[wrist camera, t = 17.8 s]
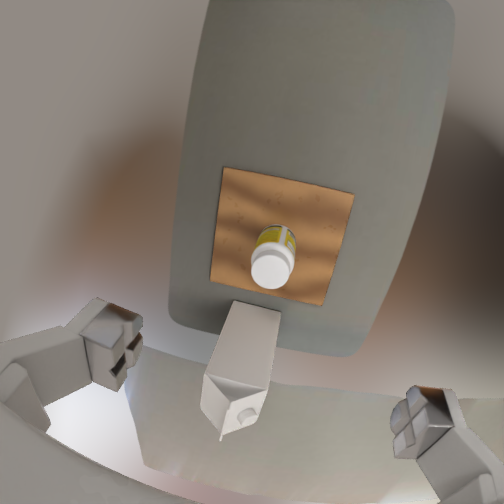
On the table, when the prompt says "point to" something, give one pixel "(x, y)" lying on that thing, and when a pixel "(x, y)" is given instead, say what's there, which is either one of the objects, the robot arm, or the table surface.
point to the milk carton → (240, 367)
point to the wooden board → (282, 213)
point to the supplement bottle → (273, 256)
